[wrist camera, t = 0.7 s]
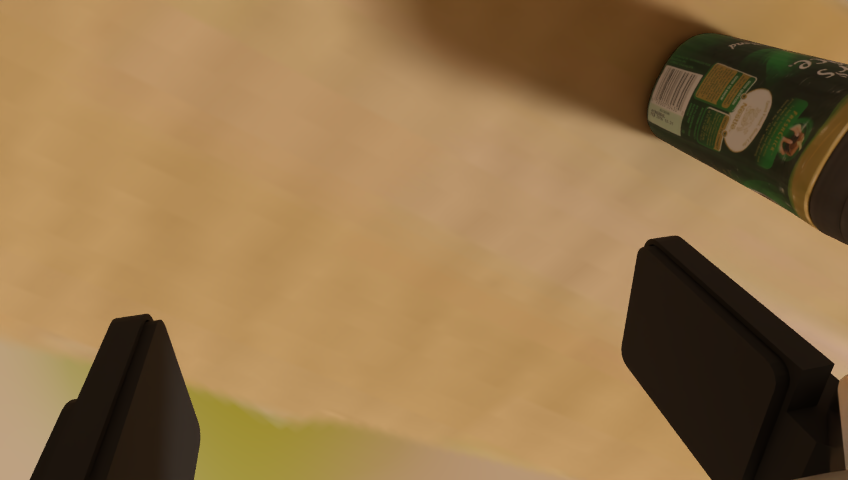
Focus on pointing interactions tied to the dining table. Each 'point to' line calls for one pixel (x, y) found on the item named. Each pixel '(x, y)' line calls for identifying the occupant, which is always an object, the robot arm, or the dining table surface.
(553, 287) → the dining table surface
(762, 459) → the robot arm
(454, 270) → the dining table surface
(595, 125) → the dining table surface
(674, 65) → the coffee jar
